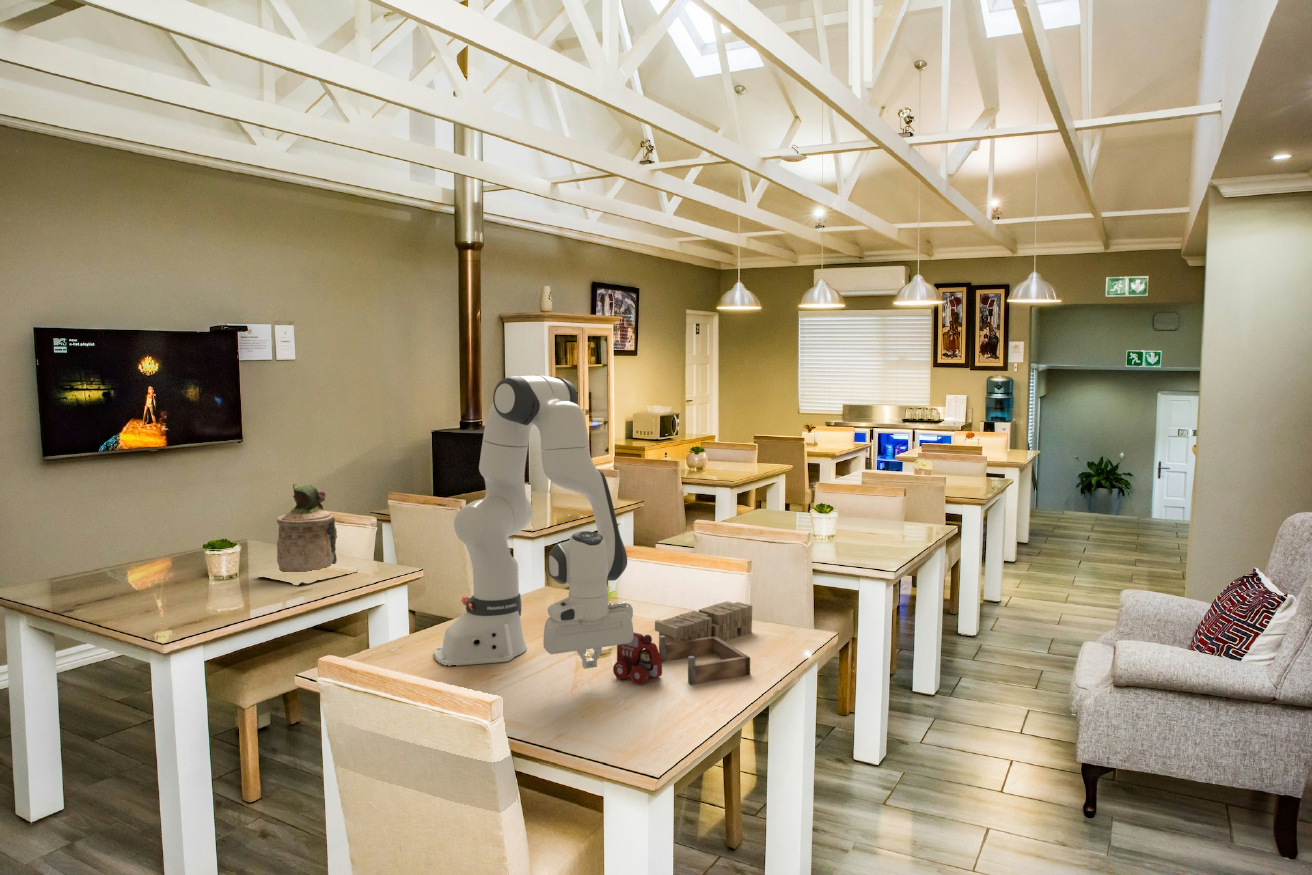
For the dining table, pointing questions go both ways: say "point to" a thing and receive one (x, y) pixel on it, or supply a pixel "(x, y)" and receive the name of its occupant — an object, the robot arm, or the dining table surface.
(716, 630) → the block tower
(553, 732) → the dining table surface
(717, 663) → the bay
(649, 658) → the toy fire truck
